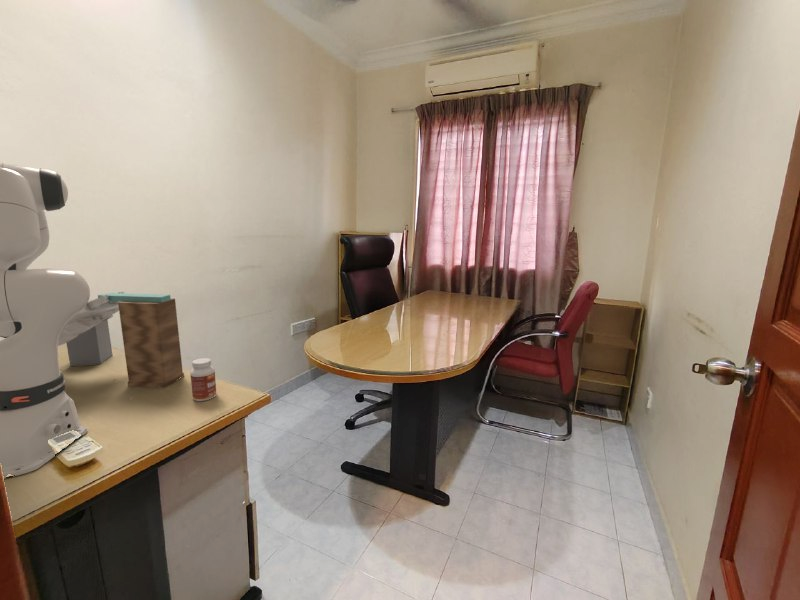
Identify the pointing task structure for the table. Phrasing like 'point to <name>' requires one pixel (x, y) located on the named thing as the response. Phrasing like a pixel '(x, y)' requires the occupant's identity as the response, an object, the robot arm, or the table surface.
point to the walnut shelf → (151, 343)
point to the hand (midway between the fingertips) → (115, 295)
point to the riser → (90, 346)
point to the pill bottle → (203, 380)
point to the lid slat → (137, 297)
